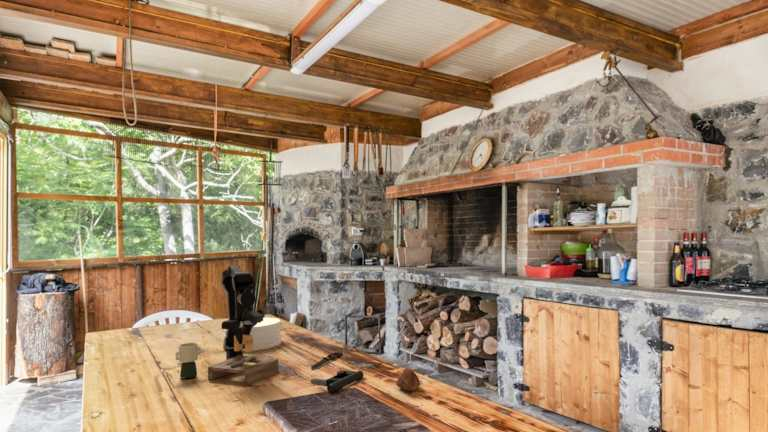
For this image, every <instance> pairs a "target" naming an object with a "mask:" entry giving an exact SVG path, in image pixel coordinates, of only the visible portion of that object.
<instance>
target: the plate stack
mask: <svg viewBox="0 0 768 432" xmlns="http://www.w3.org/2000/svg"><path fill="white" fill-rule="evenodd" d="M281 323H282V322H281V318H276V317H264V318H263V321H261V322H259V323H257V324H256V325H255V326H254V327H253V328H252V330H251V333H250V335H253V350H254V351H260V349H262V350H266V349H270V348H274V346H275V347H277V346H279V345H280V344H281V343H282V339H281V338H282V330H281V328H282V326H281ZM227 330H228V329H224V338H225V337H226V332H227ZM242 352H245V349H242Z"/></svg>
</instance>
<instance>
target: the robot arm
mask: <svg viewBox="0 0 768 432" xmlns="http://www.w3.org/2000/svg"><path fill="white" fill-rule="evenodd" d="M220 277H221V278H220V283H221V284H220V285H222V290H223V291H224V292H225V293H226V298H227V316H228V320H224V321H222V323H221V330H225V329H228V330H227V332H226V333H225V334H226V337H225V336H224V339H223V344H222V345H223V346H222V349H223V351H224V352H225V357H226V359H225V360H228V359H230V358H233V357H236V356H239V355H241V356H244V351H242V350H239V351H234V336H235V337H236V339H237V340H238V342H239V344H242V340H243V335H250V333H251V330H252V328H253V327H254V326H255V325H256V324H257V323H259V322H261V321H263V318H266V317H265V315H266V314H265V313H266V312H265V310H264V309H262V308H259V310H254V304H255V303H256V295H255V294H254V293H253V292H252V290H255V289H256V281H255V278H254V276H253V274H252V273H251V272H250V271H244V270H243V269H242V268H241V266H240V265H238V264H235V265H228V266H227V268H226V269H225V270H224V271H223V272H221V276H220ZM242 349H245V344H242Z"/></svg>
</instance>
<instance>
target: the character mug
mask: <svg viewBox="0 0 768 432" xmlns="http://www.w3.org/2000/svg"><path fill="white" fill-rule="evenodd" d="M198 345H199V344H198V342H185V343H181V344H179V345H178V351H176V352H175V361H179V362H180V363H181V364H180V365H181V366H180V367H181V368H180V372H179V373H180V376H179V377H180V378H184V379H188V378H189V379H191V378H194V377H197V376H198V371H197V365H196V364H197V363H196V361H197V360H198V359H199V358H198V357H199V355H200V354H201V352H202V351H201V350H202V349H201V348H202V347H201V346H198Z"/></svg>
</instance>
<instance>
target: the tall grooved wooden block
mask: <svg viewBox="0 0 768 432" xmlns="http://www.w3.org/2000/svg"><path fill="white" fill-rule="evenodd" d="M242 344H245V351H244V352H245V353H250V352H252V351H253V335H243V340H242ZM242 344H239V342H238V340H237V339H236V337H235V336H234V351H239V350H242Z"/></svg>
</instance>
